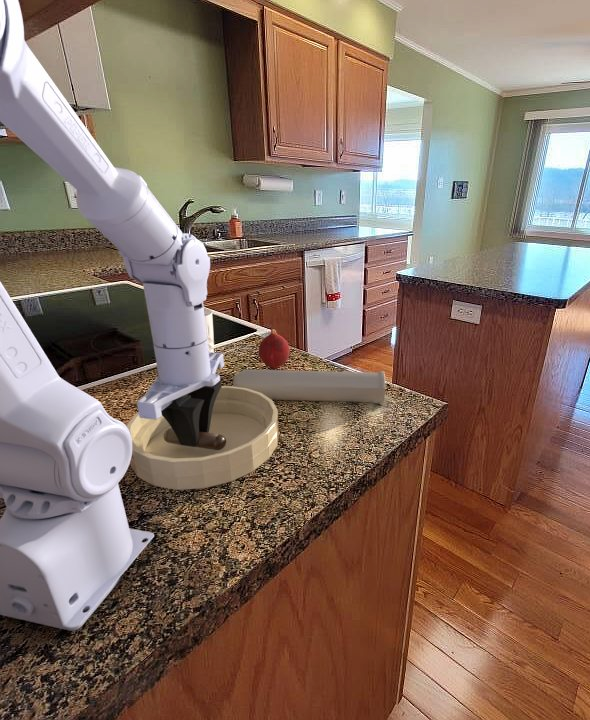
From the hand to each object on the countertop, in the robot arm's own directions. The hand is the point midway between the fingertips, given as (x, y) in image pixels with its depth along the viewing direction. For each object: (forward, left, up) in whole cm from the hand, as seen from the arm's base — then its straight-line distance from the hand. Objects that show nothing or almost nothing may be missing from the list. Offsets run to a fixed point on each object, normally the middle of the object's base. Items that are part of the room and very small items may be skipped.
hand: (194, 438), depth 51 cm
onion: (+28, 0, -2) cm, 28 cm away
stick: (0, 0, -1) cm, 1 cm away
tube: (+18, -10, -2) cm, 20 cm away
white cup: (+27, +16, -2) cm, 31 cm away
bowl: (+2, -1, -2) cm, 3 cm away
